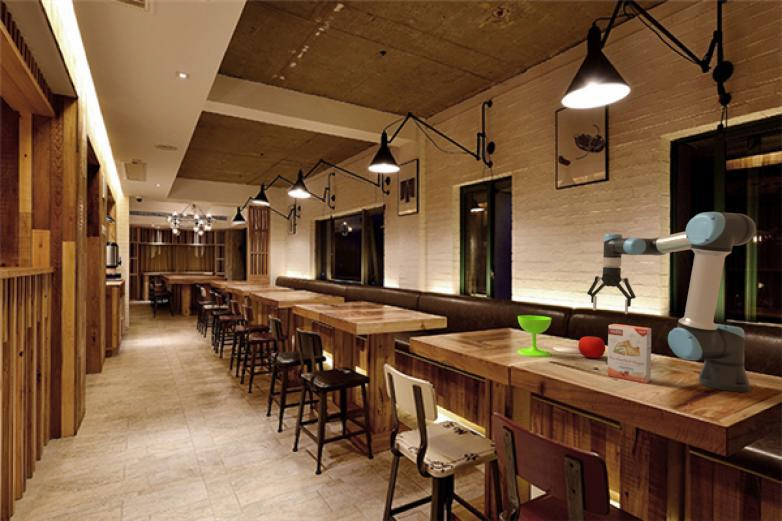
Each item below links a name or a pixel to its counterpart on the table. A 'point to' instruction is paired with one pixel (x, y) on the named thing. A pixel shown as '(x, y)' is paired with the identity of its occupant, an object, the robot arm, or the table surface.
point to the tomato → (591, 347)
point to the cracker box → (629, 352)
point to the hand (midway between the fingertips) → (610, 311)
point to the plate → (567, 349)
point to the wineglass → (534, 333)
